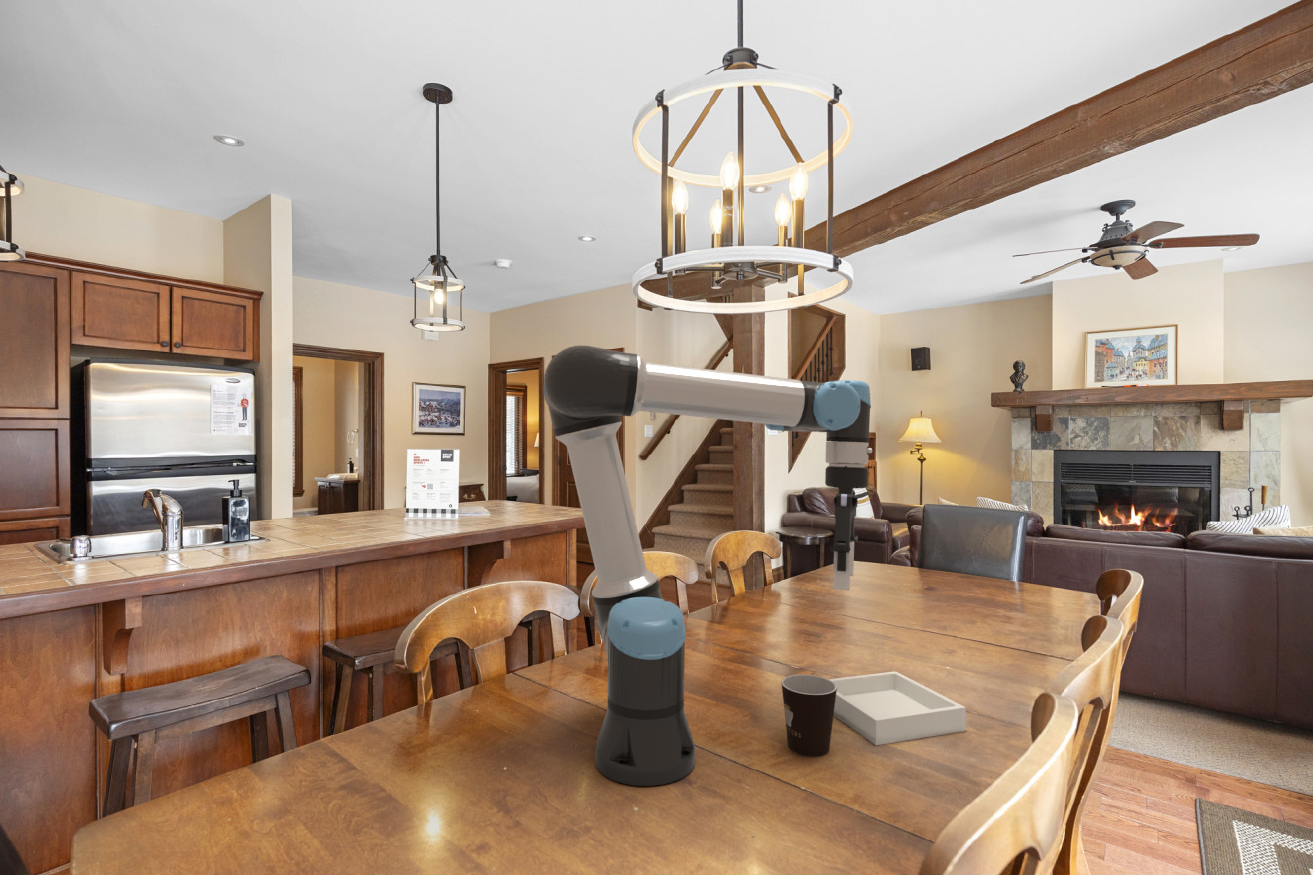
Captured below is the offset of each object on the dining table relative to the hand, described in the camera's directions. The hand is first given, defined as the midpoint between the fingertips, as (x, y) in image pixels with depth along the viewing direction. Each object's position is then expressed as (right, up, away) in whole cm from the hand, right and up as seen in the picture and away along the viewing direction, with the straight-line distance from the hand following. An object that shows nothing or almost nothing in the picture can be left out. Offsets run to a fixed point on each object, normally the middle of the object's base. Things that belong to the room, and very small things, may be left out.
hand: (843, 582), depth 118 cm
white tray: (+7, -23, -3) cm, 24 cm away
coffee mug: (-10, -23, -13) cm, 28 cm away
